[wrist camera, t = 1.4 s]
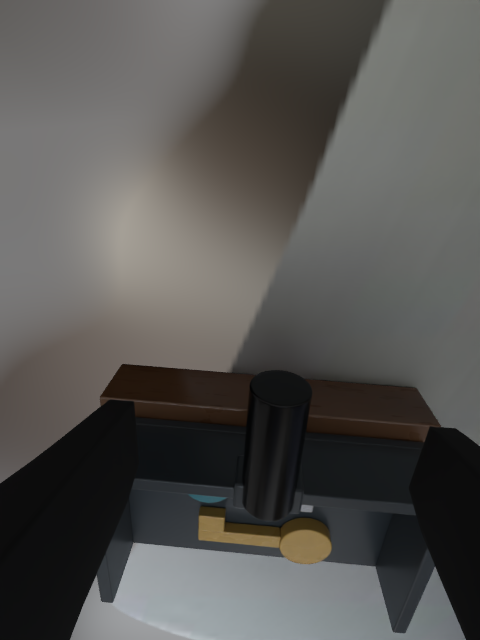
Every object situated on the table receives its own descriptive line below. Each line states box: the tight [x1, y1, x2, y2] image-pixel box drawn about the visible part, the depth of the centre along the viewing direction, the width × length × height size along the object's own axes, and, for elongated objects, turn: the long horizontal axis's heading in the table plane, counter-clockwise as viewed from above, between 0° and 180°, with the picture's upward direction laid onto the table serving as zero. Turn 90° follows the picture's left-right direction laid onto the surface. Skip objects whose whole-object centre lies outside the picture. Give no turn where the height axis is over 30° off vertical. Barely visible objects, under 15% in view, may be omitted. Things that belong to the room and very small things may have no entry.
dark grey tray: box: [97, 370, 435, 633], centre depth 13 cm, size 11×12×4 cm
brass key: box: [198, 506, 332, 564], centre depth 16 cm, size 6×2×1 cm, turn 87°
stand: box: [100, 364, 441, 442], centre depth 17 cm, size 8×13×2 cm, turn 87°
